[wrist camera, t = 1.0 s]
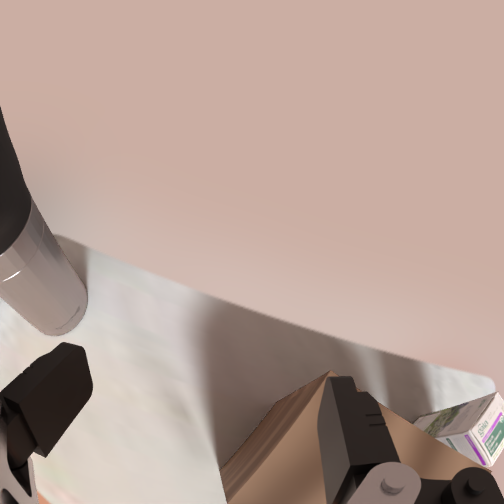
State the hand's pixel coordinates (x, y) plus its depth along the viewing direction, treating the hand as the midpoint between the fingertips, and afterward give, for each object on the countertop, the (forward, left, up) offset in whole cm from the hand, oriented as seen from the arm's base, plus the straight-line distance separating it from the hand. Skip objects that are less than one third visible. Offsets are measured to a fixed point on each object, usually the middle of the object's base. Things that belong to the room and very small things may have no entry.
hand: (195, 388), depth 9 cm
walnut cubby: (+14, +1, -26) cm, 29 cm away
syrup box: (+24, +12, -26) cm, 37 cm away
